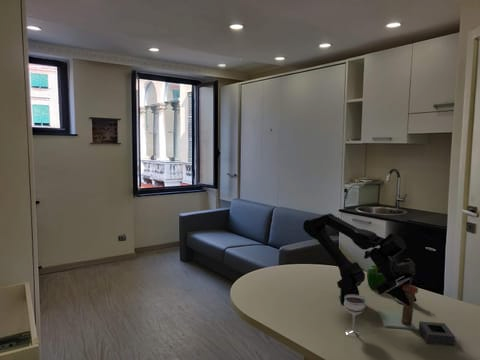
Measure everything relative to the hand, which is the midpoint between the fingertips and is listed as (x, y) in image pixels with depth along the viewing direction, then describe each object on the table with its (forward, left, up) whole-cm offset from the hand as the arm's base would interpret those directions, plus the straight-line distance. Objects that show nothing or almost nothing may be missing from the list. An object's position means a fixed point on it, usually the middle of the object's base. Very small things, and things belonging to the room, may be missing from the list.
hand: (412, 303), depth 123 cm
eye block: (+6, -5, -9) cm, 12 cm away
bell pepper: (-4, +31, -9) cm, 33 cm away
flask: (+4, +20, -9) cm, 22 cm away
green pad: (-4, +4, -9) cm, 10 cm away
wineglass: (-20, -7, -9) cm, 23 cm away
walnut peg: (-1, +1, -8) cm, 8 cm away
